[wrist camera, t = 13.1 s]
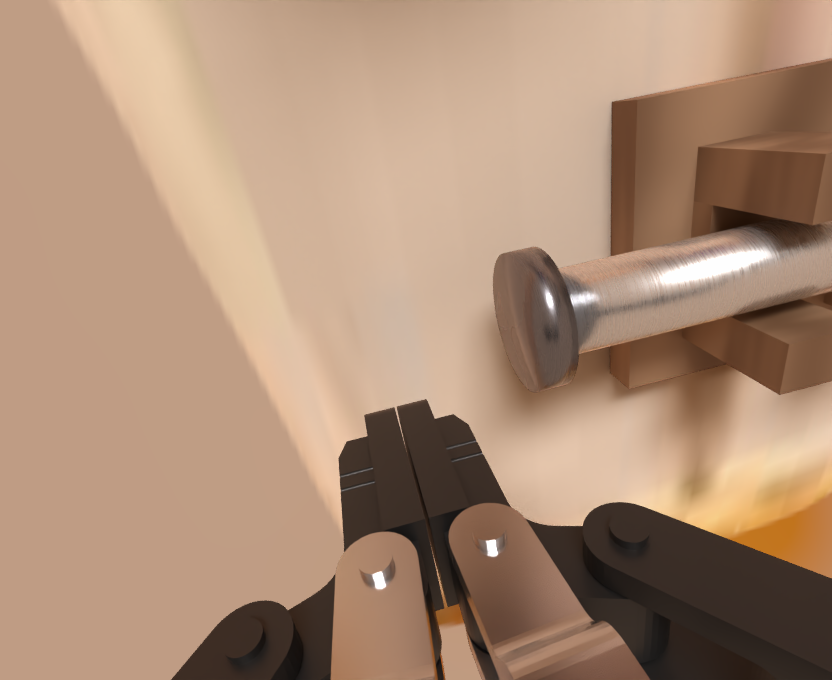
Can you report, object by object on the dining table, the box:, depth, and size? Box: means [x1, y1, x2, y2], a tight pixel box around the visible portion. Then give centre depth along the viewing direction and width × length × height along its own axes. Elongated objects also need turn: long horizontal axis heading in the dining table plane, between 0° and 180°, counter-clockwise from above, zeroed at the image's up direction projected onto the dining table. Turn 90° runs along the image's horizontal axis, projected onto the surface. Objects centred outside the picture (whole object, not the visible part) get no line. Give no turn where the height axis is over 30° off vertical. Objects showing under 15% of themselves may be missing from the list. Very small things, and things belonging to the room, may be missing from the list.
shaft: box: [493, 218, 832, 392], centre depth 17 cm, size 19×5×5 cm, turn 100°
